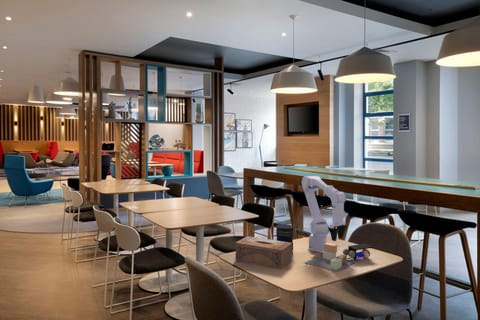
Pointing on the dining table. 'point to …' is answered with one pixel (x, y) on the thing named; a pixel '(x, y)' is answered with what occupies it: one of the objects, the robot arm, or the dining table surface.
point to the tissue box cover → (263, 252)
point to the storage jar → (285, 233)
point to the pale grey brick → (329, 255)
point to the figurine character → (353, 254)
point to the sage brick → (336, 263)
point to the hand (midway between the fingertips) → (337, 239)
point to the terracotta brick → (330, 247)
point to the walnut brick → (343, 259)
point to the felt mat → (327, 263)
